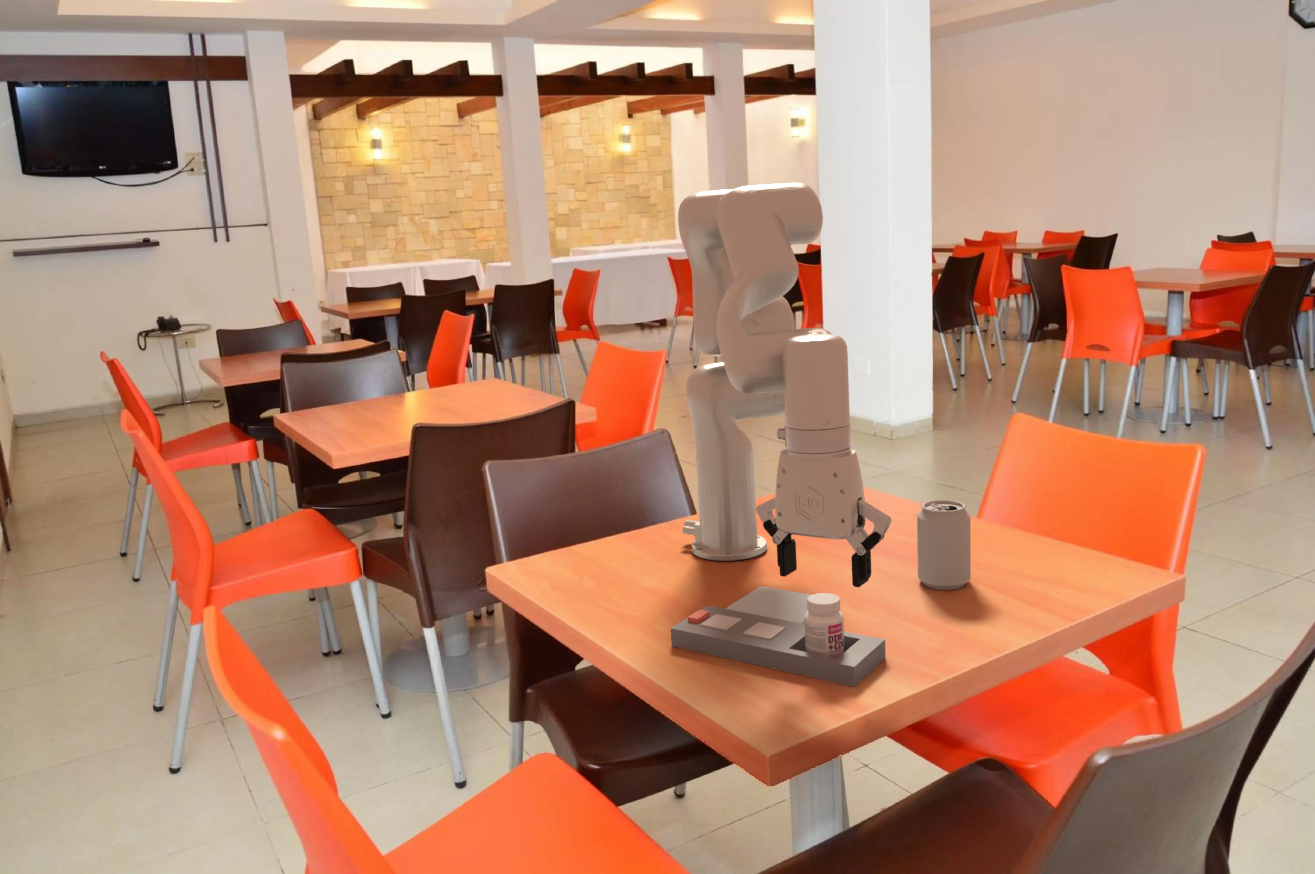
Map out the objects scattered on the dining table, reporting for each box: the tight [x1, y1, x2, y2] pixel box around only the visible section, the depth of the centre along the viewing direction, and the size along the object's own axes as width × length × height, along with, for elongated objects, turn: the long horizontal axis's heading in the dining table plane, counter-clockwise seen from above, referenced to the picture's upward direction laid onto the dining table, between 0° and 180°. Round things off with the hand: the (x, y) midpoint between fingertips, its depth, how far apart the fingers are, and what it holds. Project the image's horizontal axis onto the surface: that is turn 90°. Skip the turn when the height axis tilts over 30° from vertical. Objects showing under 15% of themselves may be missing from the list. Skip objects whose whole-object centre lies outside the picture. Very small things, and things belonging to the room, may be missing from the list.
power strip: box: [670, 605, 886, 688], centre depth 132 cm, size 26×9×3 cm, turn 55°
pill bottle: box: [805, 592, 845, 658], centre depth 127 cm, size 5×5×8 cm
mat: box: [724, 585, 811, 624], centre depth 147 cm, size 12×12×1 cm
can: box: [916, 499, 972, 591], centre depth 151 cm, size 8×8×12 cm
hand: (823, 578), depth 125 cm, fingers open, 9 cm apart
